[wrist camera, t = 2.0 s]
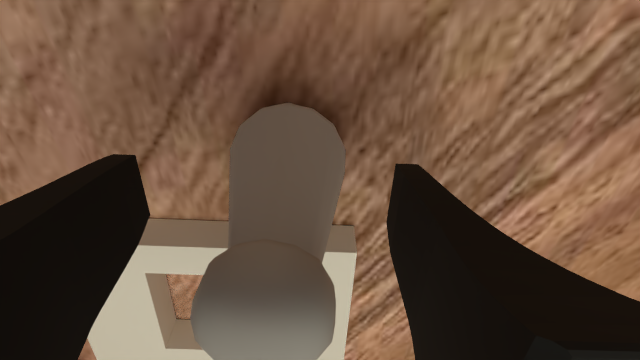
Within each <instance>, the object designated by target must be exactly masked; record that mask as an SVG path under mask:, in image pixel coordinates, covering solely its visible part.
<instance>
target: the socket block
mask: <svg viewBox="0 0 640 360" xmlns="http://www.w3.org/2000/svg"><path fill="white" fill-rule="evenodd" d="M228 230H229V221H207V220H179V219H152V218H149V219H148V222H147V224H146V227H145V230H144V232H143V235H142V237H141V240H140V242H139V245H138V246H137V248H136V250H135V252H134V254H133V255H132V257H131V259H130V261H129V263H128V264H127V266H126V268H125V270H124V271H123V273H122V275H121V276H120V278H119V280H118V282H117V283H116V285H115V287H114V288H113V290H112V292H111V294H110V295H109V297H108V299H107V300H106V302H105V304H104V306H103V307H102V309H101V311H100V313H99V315H98V316H97V318H96V320H95V322H94V324H93V326H92V328H91V330H90V332H89V335H88V337H87V338H88V340H89V343H90V345H91V347H92V350H93V352H94V354H95V356H96V359H97V360H213V359H212V358H211V357H210V356H209V355H208V354H207V353H206V352H205V351H204V350H203V349H202V348H201V347H200V345H199V344H198V343H197V342H196V341H195V338H194V334H193V329H192V325H191V321H190V320H183V319H176V315H175V311H174V306H173V302H172V298H171V294H170V289H169V285H168V281H167V276H166V274H186V275H204V273H205V271H206V269H207V267H208V264H209V263H210V262H211V261H212V260H213V259H214V258H215V257H216V256H218V255H219V254H221V253H223V252H224V251H226V250H227V249H228ZM356 256H357V250H356V240H355V231H354V226H343V225H332V226H331V230H330V234H329V238H328V242H327V246H326V250H325V254H324V258H323V262H322V265H323V267H324V268H325V270H326V272H327V273H328V275H329V276H330V278H331V280H332V282H333V284H334V289H335V298H336V317H335V328H334V334H333V340H332V343H331V344H330V345H329V346H328V347H327V348H326V350H325V351H324V352H323V353H322V354H321V356H320V357H319V358H318V359H316V360H344V353H345V345H346V336H347V328H348V320H349V312H350V304H351V296H352V288H353V280H354V272H355V264H356Z"/></svg>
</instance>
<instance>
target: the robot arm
mask: <svg viewBox="0 0 640 360" xmlns="http://www.w3.org/2000/svg"><path fill="white" fill-rule="evenodd" d="M149 216H150V212H149V208H148V204H147V200H146V196H145V192H144V188H143V184H142V180H141V176H140V172H139V168H138V164H137V160H136V156H135V155H118V154H113V155H110V156H107V157H104V158H102V159H99V160H97V161H95V162H93V163H91V164H88V165H86V166H84V167H82V168H80V169H78V170H76V171H74V172H72V173H70V174H68V175H66V176H63V177H61V178H59V179H57V180H55V181H53V182H51V183H49V184H47V185H45V186H43V187H41V188H39V189H36V190H34V191H32V192H30V193H27V194H25V195H23V196H21V197H19V198H16V199H14V200H12V201H10V202H7V203H5V204H3V205H1V206H0V360H78V357H79V355H80V353H81V351H82V348H83V346H84V344H85V342H86V339H87V337H88V335H89V332H90V330H91V328H92V326H93V324H94V322H95V320H96V318H97V316H98V315H99V313H100V311H101V309H102V307H103V306H104V304H105V302H106V300H107V299H108V297H109V295H110V294H111V292H112V290H113V288H114V287H115V285H116V283H117V282H118V280H119V278H120V276H121V275H122V273H123V271H124V270H125V268H126V266H127V264H128V263H129V261H130V259H131V257H132V255H133V254H134V252H135V250H136V248H137V246H138V245H139V242H140V240H141V237H142V235H143V232H144V230H145V227H146V224H147V222H148V219H149ZM387 230H388V239H389V246H390V253H391V257H392V261H393V265H394V269H395V272H396V276H397V280H398V284H399V287H400V291H401V295H402V299H403V302H404V306H405V310H406V314H407V317H408V321H409V326H410V330H411V335H412V341H413V347H414V354H415V360H640V302H639V301H637V300H634V299H631V298H629V297H626V296H624V295H622V294H619V293H617V292H615V291H612V290H610V289H608V288H606V287H603V286H601V285H599V284H597V283H594V282H592V281H590V280H588V279H586V278H583V277H581V276H579V275H577V274H575V273H573V272H571V271H569V270H567V269H565V268H563V267H561V266H559V265H557V264H555V263H554V262H552V261H550V260H548V259H546V258H544V257H542V256H540V255H539V254H537V253H535V252H533V251H531V250H530V249H528V248H526V247H525V246H523V245H521V244H520V243H518V242H517V241H515V240H513V239H512V238H510V237H509V236H507V235H506V234H504V233H502V232H501V231H499V230H498V229H496V228H495V227H494V226H492V225H491V224H489V223H488V222H487V221H485V220H484V219H483V218H481V217H480V216H479V215H477V214H476V213H475V212H473V211H472V210H471V209H470V208H468V207H467V206H466V205H464V204H463V203H462V202H461V201H460V200H458V199H457V198H456V197H455V196H454V195H453V194H451V193H450V192H449V191H448V190H447V189H446V188H444V187H443V186H442V185H441V184H440V183H439V182H438V181H437V180H435V179H434V178H433V177H432V176H431V175H430V174H429V173H428V172H426V171H425V170H424V169H423V168H422V167H420V166H419V165H418V164H396V166H395V172H394V178H393V185H392V191H391V197H390V203H389V210H388V216H387Z"/></svg>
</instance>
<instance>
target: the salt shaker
mask: <svg viewBox="0 0 640 360" xmlns="http://www.w3.org/2000/svg"><path fill="white" fill-rule="evenodd" d="M345 153H346V150H345V147H344V145H343V143H342V141H341V139H340V136H339V134H338V132H337V130H336V128H335V126H334V124H333V123H331V122H330V121H329V120H327V119H326V118H325V117H324V116H322V115H321V114H320V113H318V112H317V111H316V110H314V109H313V108H308V107H304V106H299V105H295V104H293V103H283V104H279V105H274V106H269V107H264V108H261V109H260V110H258V111H257V112H256V113H255V114H253V115H252V116H251V117H249V118H248V119H247V120H246V121H244V122H243V123H242V124H241V125H240V126H239V128H238V130H237V133H236V135H235V138H234V140H233V143H232V145H231V148H230V181H229V230H228V249H227V250H226V251H224V252H223V253H221V254H219V255H218V256H216V257H215V258H214V259H213V260H212V261H211V262H210V263H209V264H208V267H207V269H206V271H205V273H204V275H203V278H202V280H201V282H200V284H199V287H198V289H197V291H196V294H195V296H194V299H193V302H192V309H191V317H190V321H191V325H192V329H193V334H194V338H195V341H196V342H197V343H198V344H199V345H200V347H201V348H202V349H203V350H204V351H205V352H206V353H207V354H208V355H209V356H210V357H211V358H212V359H213V360H316V359H318V358H319V357H320V356H321V354H322V353H323V352H324V351H325V350H326V348H327V347H328V346H329V345H330V344H331V343H332V340H333V334H334V328H335V317H336V298H335V289H334V284H333V282H332V280H331V278H330V276H329V275H328V273H327V272H326V270H325V268H324V267H323V265H322V262H323V258H324V254H325V250H326V246H327V242H328V238H329V234H330V230H331V226H332V222H333V218H334V214H335V210H336V206H337V202H338V198H339V194H340V190H341V186H342V182H343V178H344V174H345Z"/></svg>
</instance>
